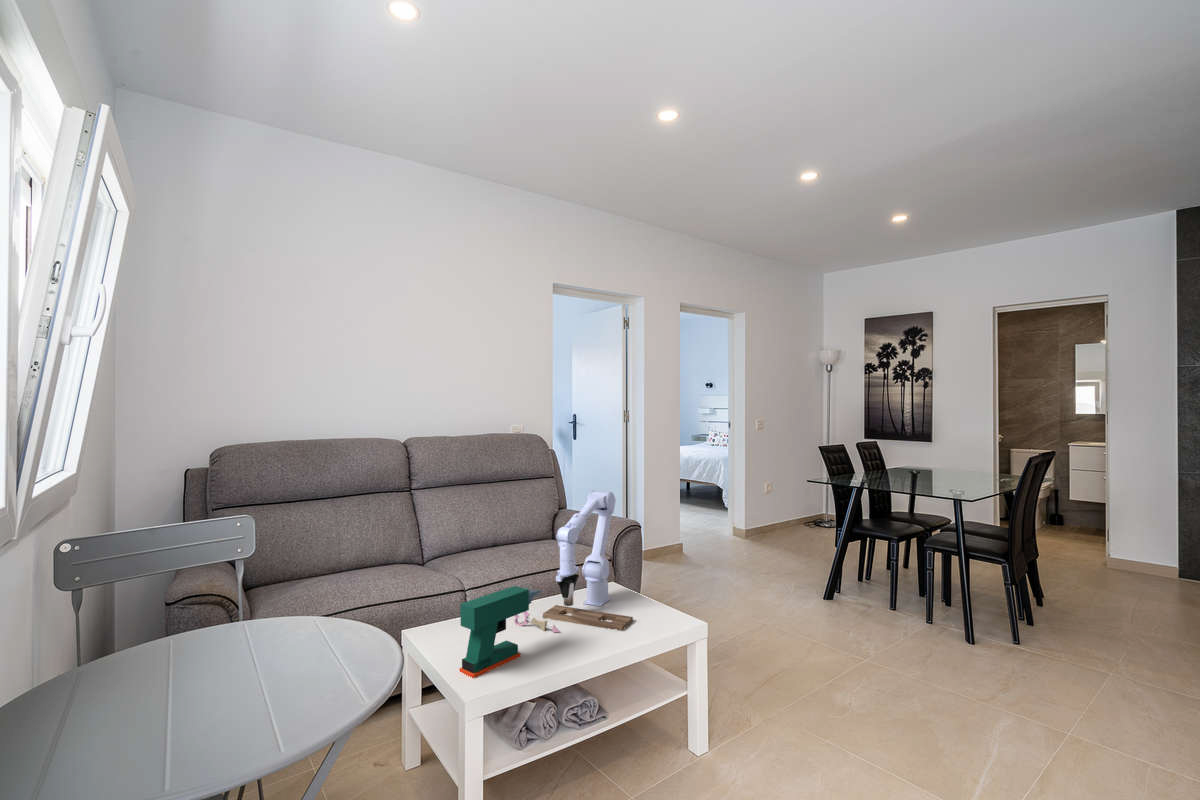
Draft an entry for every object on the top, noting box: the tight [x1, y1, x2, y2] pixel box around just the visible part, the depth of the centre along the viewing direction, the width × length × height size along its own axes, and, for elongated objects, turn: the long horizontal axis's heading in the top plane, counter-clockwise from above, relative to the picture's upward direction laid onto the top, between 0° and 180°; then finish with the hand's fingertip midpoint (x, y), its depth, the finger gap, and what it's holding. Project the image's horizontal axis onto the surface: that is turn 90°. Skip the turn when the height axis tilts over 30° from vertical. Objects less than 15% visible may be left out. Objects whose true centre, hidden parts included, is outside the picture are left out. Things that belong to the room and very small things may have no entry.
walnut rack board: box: [542, 604, 634, 631], centre depth 210 cm, size 10×32×2 cm, turn 65°
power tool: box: [459, 585, 543, 679], centre depth 180 cm, size 32×7×20 cm, turn 141°
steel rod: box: [563, 582, 575, 607], centre depth 213 cm, size 4×4×8 cm
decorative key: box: [514, 611, 561, 633], centre depth 202 cm, size 7×1×20 cm
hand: (567, 595), depth 213 cm, fingers closed on steel rod, 4 cm apart
